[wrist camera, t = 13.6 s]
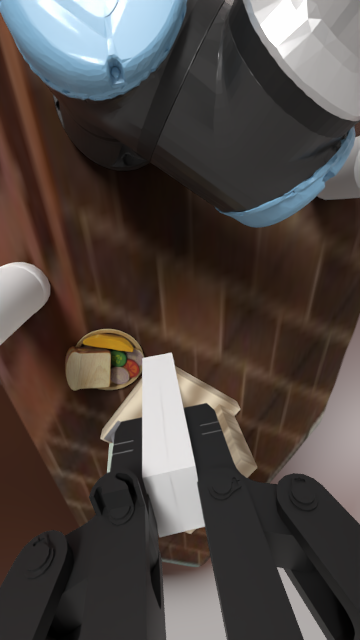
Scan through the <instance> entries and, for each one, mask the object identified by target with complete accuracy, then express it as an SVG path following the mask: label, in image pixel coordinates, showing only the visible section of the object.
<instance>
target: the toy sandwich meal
mask: <svg viewBox="0 0 360 640" xmlns="http://www.w3.org/2000/svg"><path fill="white" fill-rule="evenodd" d="M142 358H144V355H143V351H142V349H141V347H140V345H139V344H138V342H137V341H136V340H135V339H134V338H133V337H131V336H130V335H128V334H127V333H124V332H122V331H119V330H115V329H101V330H96V331H93V332H91V333H89V334H87V335H85V336H84V337H83V338H82V339H81V340H80V341H79V342H78V343H77V345H76V347H74V346H72V347H70V348H69V349H68V351H67V354H66V358H65V372H66V378H67V382H68V385H69V386H70V388H71V389H72V390H74V391H76V390H78V389H85V388H98V389H102V390H115V389H120V388H123V387H126V386H128V385H129V384H131V383H132V382H134V381H135V380H136V379H137V378H138V376H139V375H140V373H141V371H142Z"/></svg>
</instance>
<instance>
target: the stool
mask: <svg viewBox="0 0 360 640" xmlns="http://www.w3.org/2000/svg"><path fill="white" fill-rule="evenodd" d="M175 370H176V375H177V380H178V385H179V390H180V394H181V399H182V404H183V408H185V407H189V406H194V405H199V404H204V403H207V404H208V405H210V406H211V407H212V408H213V409H214V410H215V412H216V415H217V418H218V420H219V423H220V426H221V429H222V431H223V434H224V437H225V440H226V442H227V445H228V448H229V451H230V453H231V456H232V459H233V461H234V464H235V466H236V468H237V469H238V470H239V472H240V473H241V474H242V475H244V476H245V477H246V478H248V477H249V476H250V475H251V474H252V473H253V472H254V471H255V470H256V469H257V468H258V467H257V465H256V463H255V461H254V458H253V456H252V454H251V452H250V450H249V447H248V445H247V443H246V441H245V438H244V436H243V434H242V432H241V430H240V427H239V425H238V423H237V421H236V419H235V415H236V414H237V413H238V412H239V410H240V407H239V405H238V403H237V401H235V400H234V399H232V398H230V397H228V396H227V395H225V394H223V393H221V392H220V391H218V390H216V389H214V388H213V387H211V386H209V385H207V384H206V383H204V382H202V381H200V380H199V379H197V378H195V377H193V376H192V375H190V374H188V373H186V372H185V371H183V370H181V369H180V368H178V367H176V366H175ZM141 417H142V378H141V380H140V381H139V382H138V384H137V385H136V386H135V388H134V389H133V390H132V391H131V393H130V394H129V395H128V397H127V398H126V399H125V401H124V402H123V403H122V404H121V406H120V407H119V408H118V410H117V411H116V412H115V413H114V415H113V416H112V417H111V419H110V420H109V421H108V423H107V424H106V425H105V426H104V428H103V429H102V433H101V439H102V440H104V441H107V442H109V443H113V442H112V439H111V436H112V434H113V433H114V432H115V431H116V430H117V428H118V426H119V425H120V423H121V421H126V420H131V419H136V418H141ZM194 530H195V529H192V530H188V531H184V532H187V533H190V534H191V533H192V532H193V531H194Z"/></svg>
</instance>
